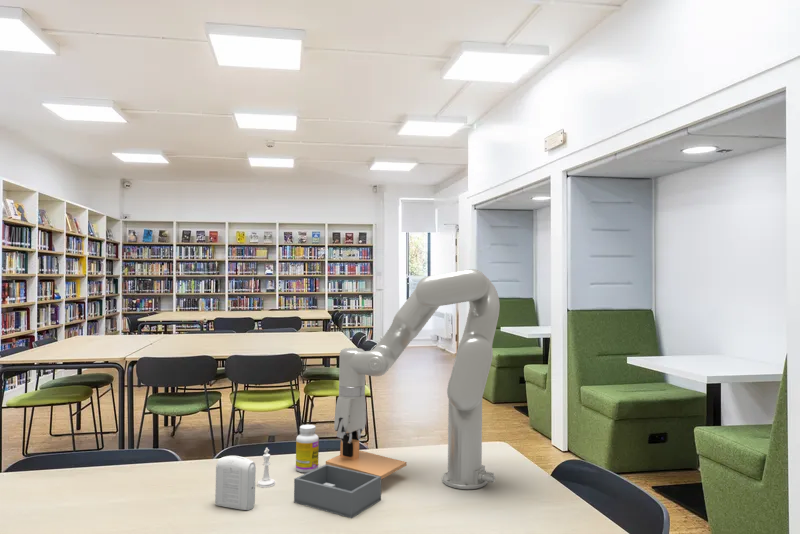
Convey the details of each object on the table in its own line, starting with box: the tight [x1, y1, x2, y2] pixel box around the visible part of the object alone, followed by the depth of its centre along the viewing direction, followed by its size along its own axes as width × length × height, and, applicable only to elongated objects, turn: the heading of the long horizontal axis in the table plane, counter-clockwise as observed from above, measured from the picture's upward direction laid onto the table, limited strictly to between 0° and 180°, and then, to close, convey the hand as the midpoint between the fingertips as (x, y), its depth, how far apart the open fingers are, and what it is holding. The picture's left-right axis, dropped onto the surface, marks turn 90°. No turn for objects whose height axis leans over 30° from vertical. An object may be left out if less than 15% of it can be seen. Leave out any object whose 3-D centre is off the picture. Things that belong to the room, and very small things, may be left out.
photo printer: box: [214, 455, 257, 511], centre depth 142 cm, size 10×4×12 cm, turn 72°
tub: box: [293, 463, 382, 519], centre depth 146 cm, size 18×13×6 cm
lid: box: [325, 439, 408, 480], centre depth 162 cm, size 19×14×7 cm
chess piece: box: [256, 447, 276, 488], centre depth 157 cm, size 5×5×10 cm
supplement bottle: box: [295, 424, 320, 474], centre depth 169 cm, size 7×7×13 cm
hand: (350, 454), depth 165 cm, fingers closed on lid
